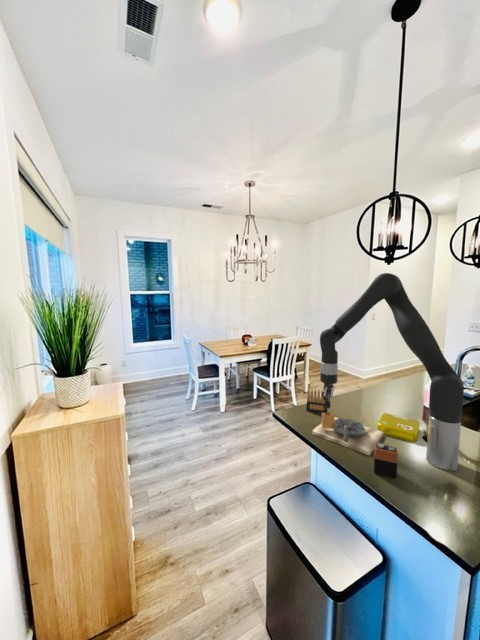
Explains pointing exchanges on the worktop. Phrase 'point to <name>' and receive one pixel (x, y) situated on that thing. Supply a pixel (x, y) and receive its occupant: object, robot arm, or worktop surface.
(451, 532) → the worktop surface
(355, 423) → the multicoloured piece
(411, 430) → the element tile
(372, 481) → the worktop surface
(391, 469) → the battery
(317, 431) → the dial base
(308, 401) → the ammunition clip
